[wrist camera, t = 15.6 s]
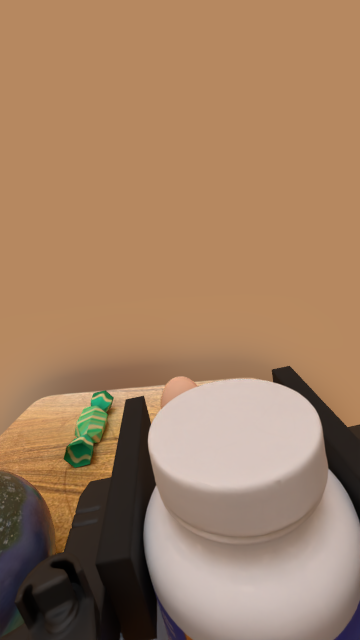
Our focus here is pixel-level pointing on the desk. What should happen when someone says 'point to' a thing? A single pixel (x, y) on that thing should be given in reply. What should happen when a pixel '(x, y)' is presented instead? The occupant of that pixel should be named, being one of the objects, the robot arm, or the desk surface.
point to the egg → (176, 389)
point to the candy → (89, 430)
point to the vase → (20, 541)
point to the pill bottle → (249, 519)
